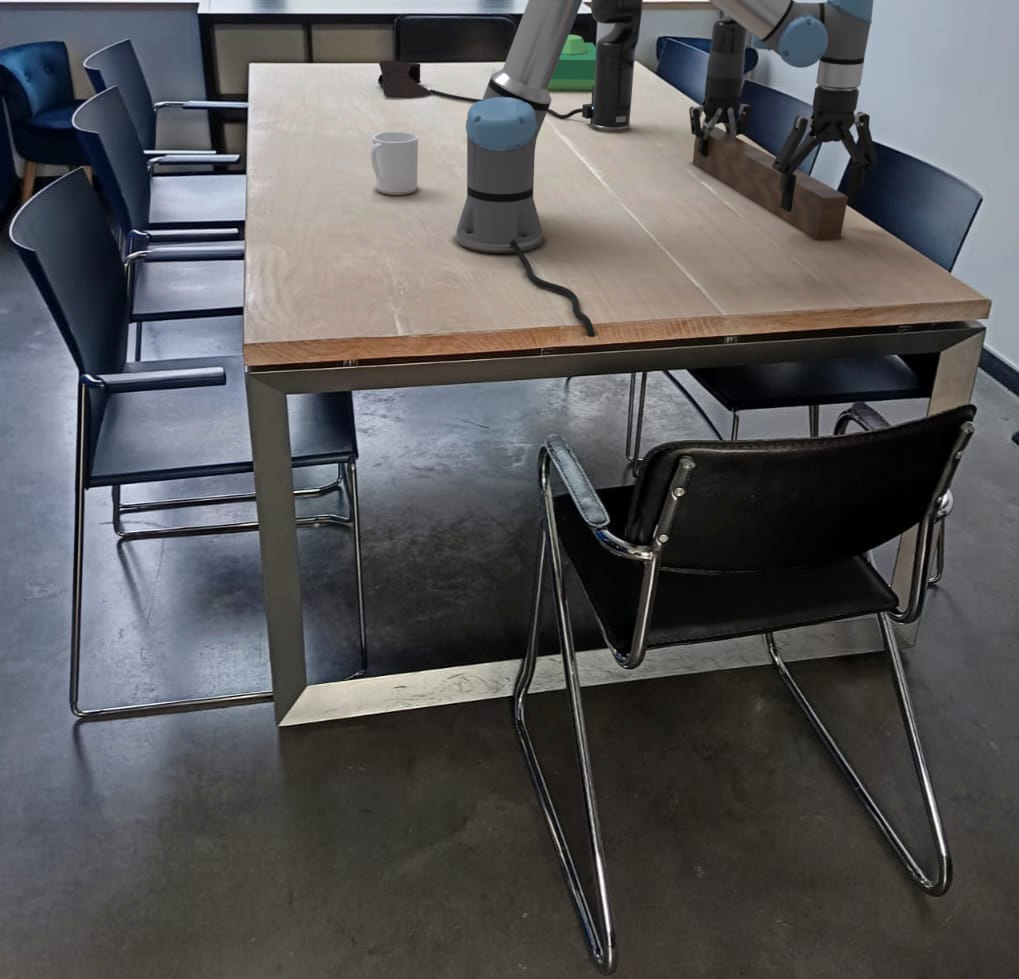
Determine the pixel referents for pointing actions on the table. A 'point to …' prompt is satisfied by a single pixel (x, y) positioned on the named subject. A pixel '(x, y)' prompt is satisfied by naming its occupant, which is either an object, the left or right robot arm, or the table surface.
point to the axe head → (401, 79)
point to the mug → (395, 162)
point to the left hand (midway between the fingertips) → (818, 206)
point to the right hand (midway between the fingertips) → (715, 155)
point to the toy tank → (575, 66)
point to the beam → (773, 185)
